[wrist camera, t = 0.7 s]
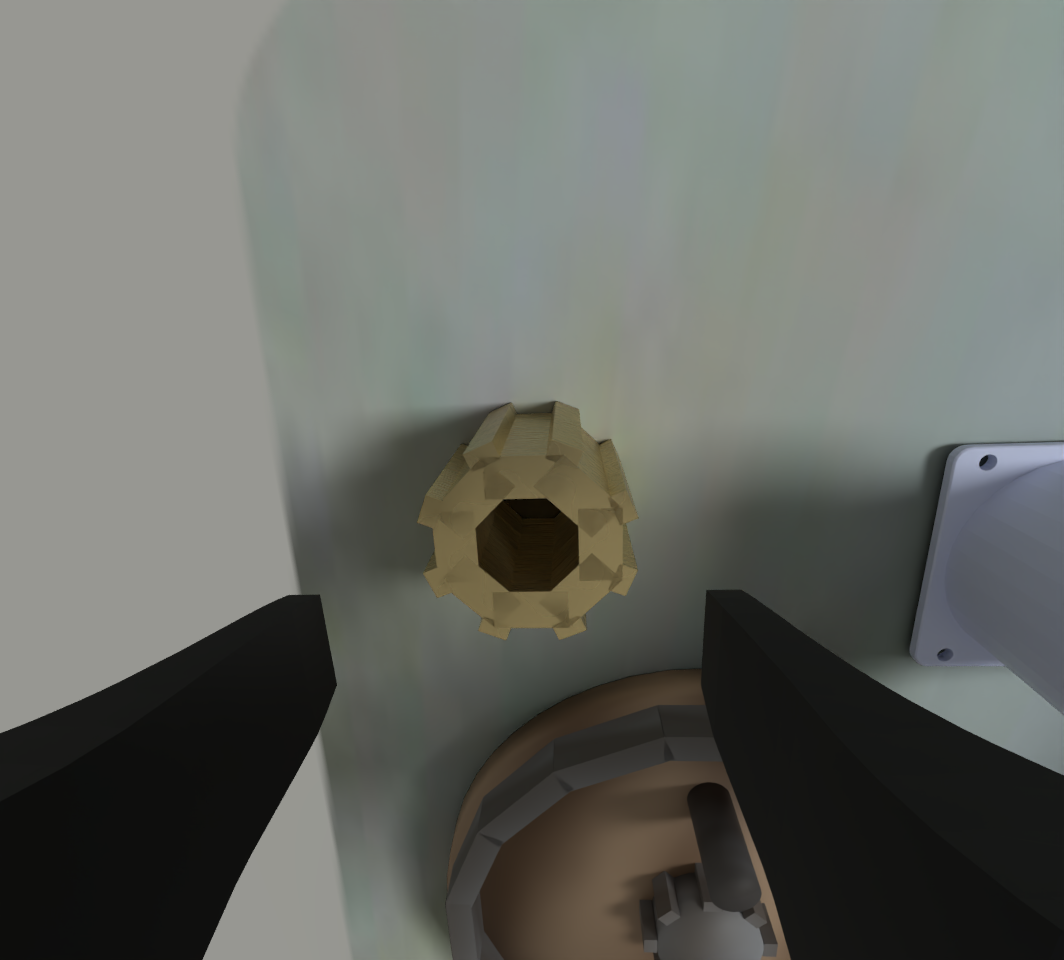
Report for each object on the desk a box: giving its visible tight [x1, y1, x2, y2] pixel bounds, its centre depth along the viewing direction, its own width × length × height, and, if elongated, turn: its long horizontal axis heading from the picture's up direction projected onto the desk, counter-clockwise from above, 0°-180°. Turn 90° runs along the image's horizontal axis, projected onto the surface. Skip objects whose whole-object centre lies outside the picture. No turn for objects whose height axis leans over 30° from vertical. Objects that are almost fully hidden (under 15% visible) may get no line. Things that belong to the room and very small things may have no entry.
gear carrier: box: [445, 668, 791, 960], centre depth 22 cm, size 21×21×5 cm
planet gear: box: [417, 401, 638, 640], centre depth 16 cm, size 6×6×5 cm
